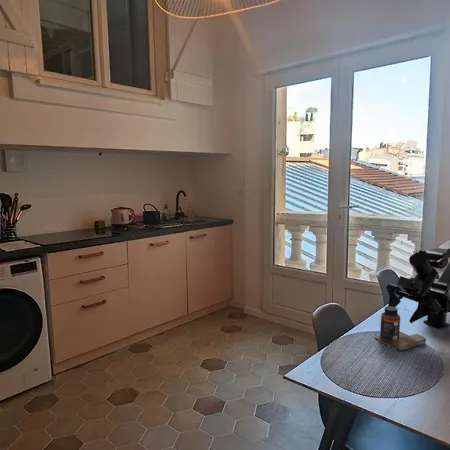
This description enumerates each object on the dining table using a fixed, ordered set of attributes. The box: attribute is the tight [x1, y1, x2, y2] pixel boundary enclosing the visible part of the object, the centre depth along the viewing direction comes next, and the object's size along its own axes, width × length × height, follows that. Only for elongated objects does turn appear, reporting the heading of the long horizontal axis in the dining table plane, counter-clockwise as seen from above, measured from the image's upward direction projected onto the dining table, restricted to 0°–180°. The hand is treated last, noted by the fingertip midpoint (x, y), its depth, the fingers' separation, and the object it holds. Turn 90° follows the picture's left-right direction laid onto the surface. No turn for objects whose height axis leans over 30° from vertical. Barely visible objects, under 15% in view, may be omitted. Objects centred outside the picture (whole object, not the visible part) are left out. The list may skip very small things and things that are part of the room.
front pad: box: [374, 330, 410, 347], centre depth 130 cm, size 12×7×1 cm, turn 115°
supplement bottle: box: [379, 305, 401, 343], centre depth 127 cm, size 6×6×11 cm
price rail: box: [390, 333, 427, 352], centre depth 125 cm, size 12×4×2 cm, turn 115°
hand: (398, 317), depth 129 cm, fingers open, 9 cm apart
